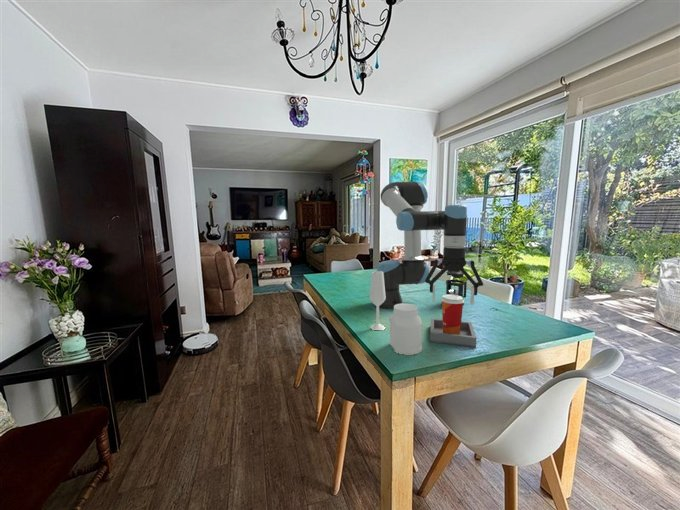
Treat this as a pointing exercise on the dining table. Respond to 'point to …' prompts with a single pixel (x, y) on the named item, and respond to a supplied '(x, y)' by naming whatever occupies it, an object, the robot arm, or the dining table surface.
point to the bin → (464, 339)
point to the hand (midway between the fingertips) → (452, 302)
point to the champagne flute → (377, 295)
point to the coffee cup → (452, 313)
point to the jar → (406, 329)
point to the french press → (456, 284)
